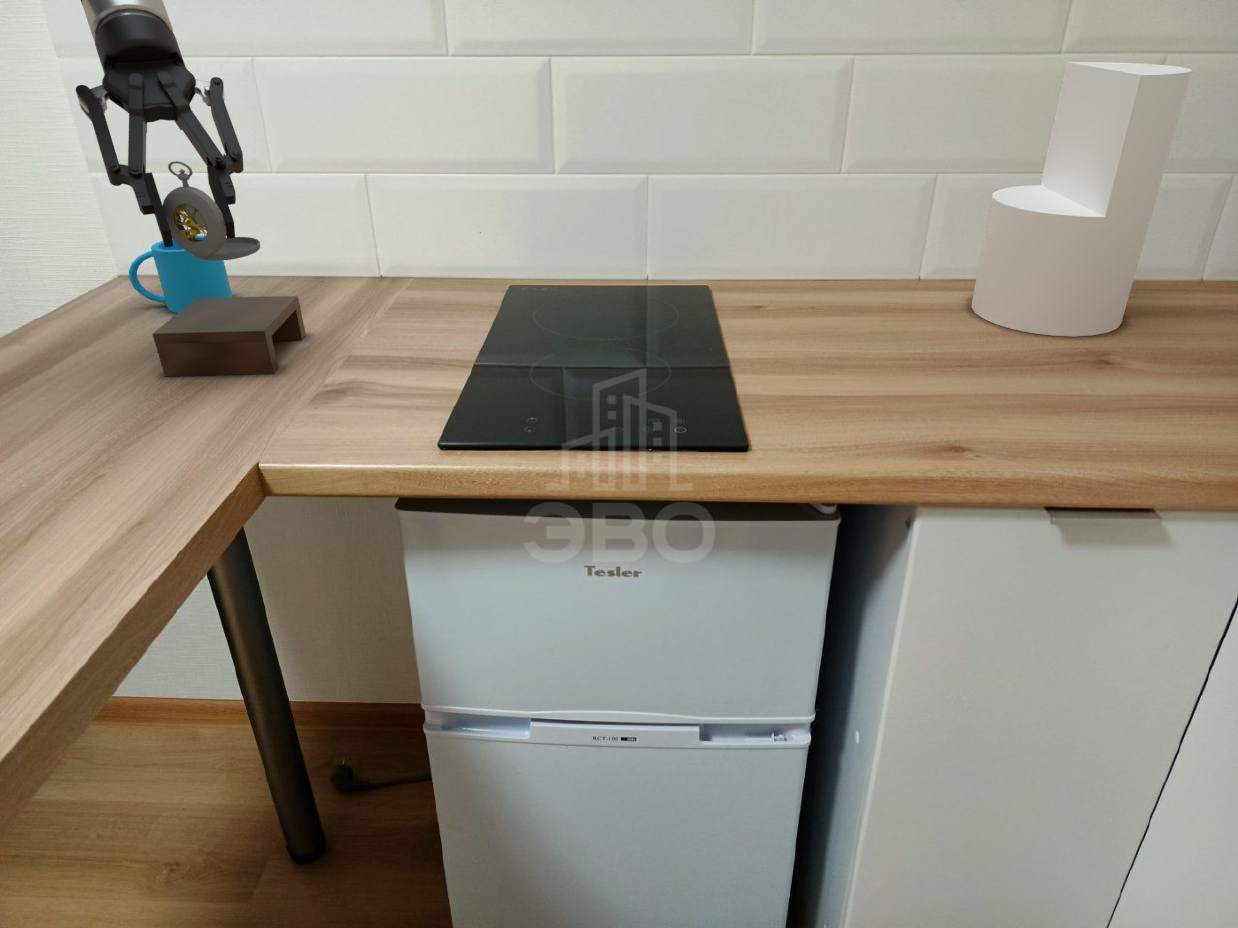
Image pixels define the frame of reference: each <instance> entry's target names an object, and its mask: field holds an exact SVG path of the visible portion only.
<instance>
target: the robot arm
mask: <svg viewBox="0 0 1238 928" xmlns="http://www.w3.org/2000/svg"><path fill="white" fill-rule="evenodd" d="M80 2H81V5H82V9H83V11H84V14H85V17H86V20H87V24H88V27H89V30H90V33H91V36H92V38H93V41H94V46H95V49H96V52H97V55H98V59H99V62H100V65H101V68H102V71H103V77H102V81H101V85H97V86H94V87H92V88H90V87H89V86H87V85H86V84H79V85H77V86H75V93H76V96H77V99H78V104H79V106H80V109H81V111H82V112H83V113H84V114H85V115H86V117H87V118H88V119H89V120H90V122H91V123H92V124H91V125H92V127H93V130H94V133H95V134H94V135H95V137H96V141H97V143H98V144H97V145H98V148H99V150H100V154H101V158H102V161H103V165H104V167H105V172H106V175H107V178H108V181H109V183H110V184H111V185H112V186H115V187H119V186H120V187H121V185H126V186H129V187H131V189H132V191H133V193H134V195H135V199H136V203H137V205H138V208H139V212H141V214H142V215H144V216H146V215H154V217H155V220H156V223H157V227H158V230H159V232H160V236H161V238H162V239H161V240H162V241H163V242H164V245H165V247H172V246H173V241H172V235H171V230H170V227H169V224H168V221H167V218H166V215H165V212H164V209H163V202H162V199H161V197H160V193H159V190H158V187H157V184H156V181H155V178H154V175H153V172H152V171H151V172H147V134H148V123H154V122H158V121H170V122H171V121H172V122H173V121H174V123H175V124H176V126H177V127H178V129H179V130H180V131H182V132H183V134H184V135H185V136H186V138H187V139H188V141H189V142H190V143H191V145H192V146H193V148H194V150H195V151H196V152H197V154H198V155H199V157H200V158H201V160H202V161H203V163H204V164H205V165H206V171H207V172H206V173H207V180H208V186H209V188H210V192H211V194H212V195H211V196H212V198H213V201H214V202H215V203H216V204H217V206H218V207H219V209H220V211H221V212H222V215H223V218H224V220H225V224H226V231H227V232H226V238H227V239H230V238H235V237H236V228H235V227H236V226H235V220H234V217H233V215H232V211H231V209H230V205H236V203H237V202H236V201H237V195H236V189H235V186H234V183H233V179H232V177H231V175H232V174H234V173H235V174H241V173H243V171H244V154H243V149H242V148H241V144H240V142H239V139H238V136H237V133H236V131H235V128H234V125H233V123H232V119H231V117H230V114H229V111H228V109H227V106H226V103H225V100H226V99H225V87H224V81H223V79H222V78H220V77H219V76H214V77H211V78H210V81H206V80H201V79H196V77H195V76H194V74H193V73H192V72H191V71H189V69H188V68H187V66H186V64H185V60H184V58H183V55H182V52H181V50H180V49H181V48H180V46H179V43H178V41H177V37H176V35H175V34H174V29H173V25H172V22H171V19H170V17H169V14H168V11H167V9H166V6H165V2H164V1H163V0H80ZM196 95H199V96H200V97H201V101H202V102H203V103H204V104H205V105H206V106H207V107H210V113H211V117H212V120H213V123H214V125H215V128H216V132H217V134H218V136H219V139H220V143H221V145H222V148H223V151H224V153H223V154H222V152H221V150H220V149H219V148H218V146H217V145H216V143H215V142H214V141H213V139H212V138H211V136H210V135H209V133H208V132H207V131H206V129H205V127H204V126H203V125H202V123H201V121H200V120H199V119H198V117H197V116H196V114H195V113H194V111H193V110H192V108H191V105H190V104H191V102H193V101H192V100H194V97H195V96H196ZM109 100H110V101H111V102H113V103H114V104H115V105H117V106H118V107H119V108H121V109H122V110H123V111H125V112H126V113H128V144H127V145H128V146H127V147H128V149H127V164H121V163H119V158H118V156H117V152H116V149H115V146H114V142H113V138H112V135H111V132H110V128H109V124H108V122H107V117H106V111H107V110H108V103H107V102H108V101H109Z"/></svg>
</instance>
